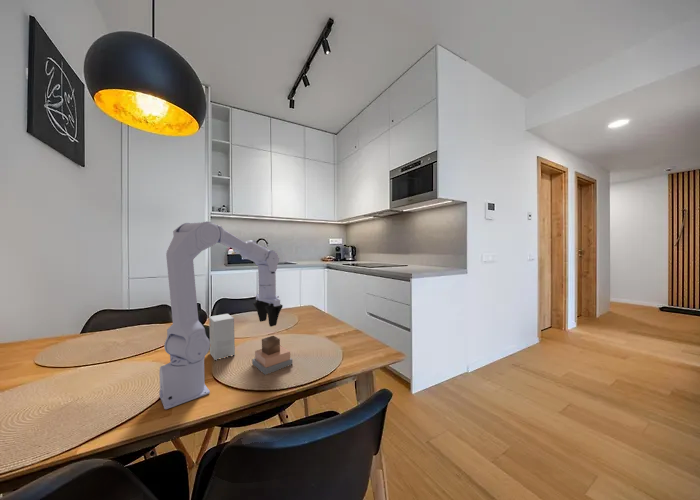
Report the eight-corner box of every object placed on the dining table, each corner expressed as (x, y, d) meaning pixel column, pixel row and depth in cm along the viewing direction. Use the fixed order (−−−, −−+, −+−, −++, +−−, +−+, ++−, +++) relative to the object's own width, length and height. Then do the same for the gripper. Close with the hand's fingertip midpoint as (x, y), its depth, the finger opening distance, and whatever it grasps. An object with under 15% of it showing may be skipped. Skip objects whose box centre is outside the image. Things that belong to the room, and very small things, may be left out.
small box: (235, 355, 88) (234, 317, 88) (214, 361, 84) (213, 321, 84) (228, 348, 94) (228, 313, 94) (209, 353, 90) (208, 316, 90)
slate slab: (265, 377, 75) (265, 369, 75) (252, 366, 81) (252, 359, 81) (292, 366, 81) (292, 359, 81) (278, 357, 88) (278, 350, 88)
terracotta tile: (265, 367, 76) (265, 359, 76) (255, 358, 82) (255, 350, 82) (290, 359, 81) (290, 351, 81) (278, 351, 87) (278, 344, 87)
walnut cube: (268, 355, 78) (268, 342, 78) (262, 351, 81) (261, 339, 81) (280, 351, 81) (279, 338, 81) (273, 347, 84) (273, 335, 84)
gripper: (288, 285, 87) (288, 325, 87) (268, 281, 97) (268, 316, 98) (268, 288, 82) (269, 330, 82) (249, 283, 93) (250, 320, 93)
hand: (267, 323), depth 90 cm, fingers open, 7 cm apart
